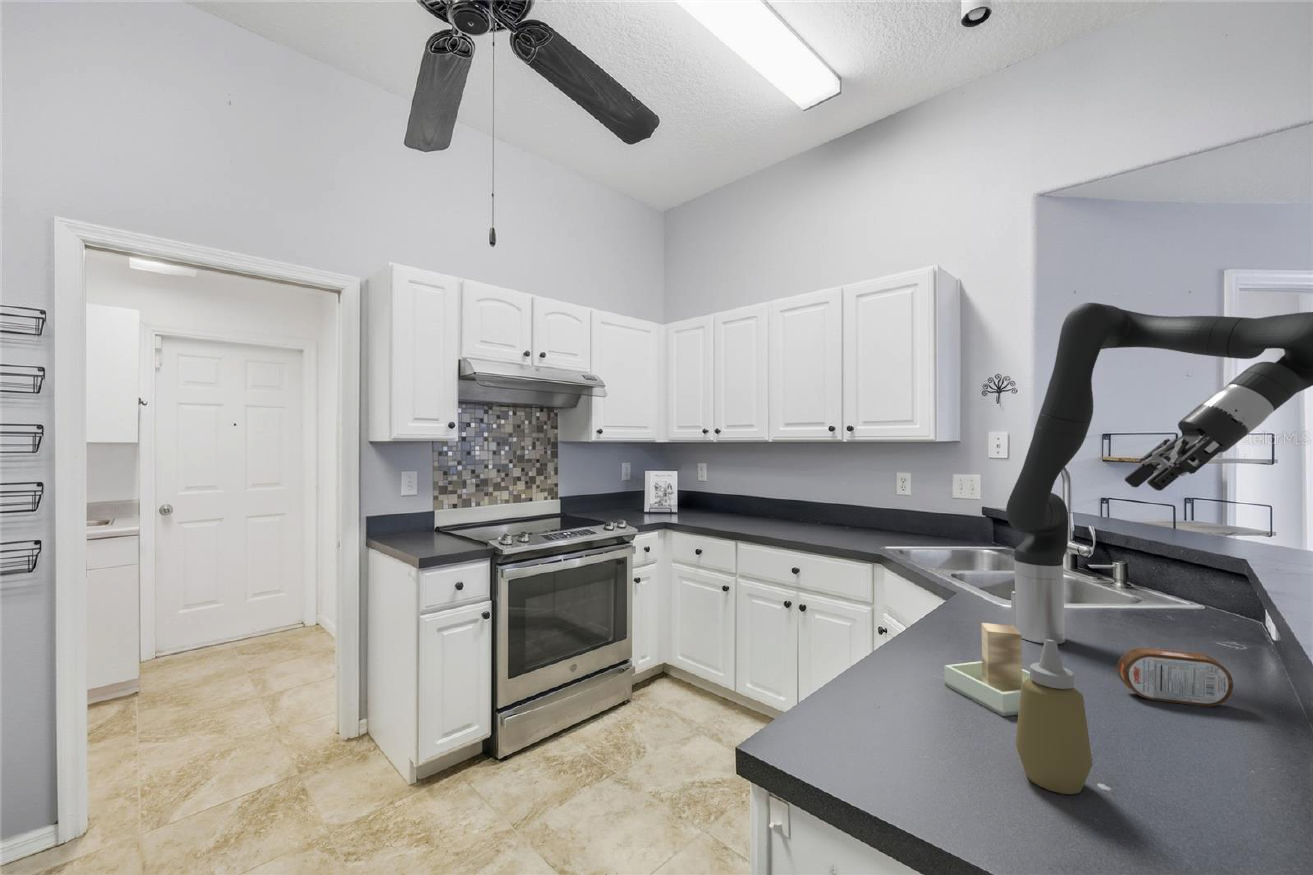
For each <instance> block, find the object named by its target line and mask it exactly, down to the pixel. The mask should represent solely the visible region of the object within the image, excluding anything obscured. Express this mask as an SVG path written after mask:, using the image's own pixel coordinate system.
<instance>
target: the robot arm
mask: <svg viewBox="0 0 1313 875" xmlns="http://www.w3.org/2000/svg"><path fill="white" fill-rule="evenodd" d="M1061 326H1062V327H1061V330H1060V334H1059V338H1058V339H1059V340H1058V345H1057V351H1056V357H1055V362H1054V366H1053V370H1052V374H1051V376H1050V379H1049V381H1048V382H1049V383H1048V386H1047V390H1046V393H1045V396H1044V400H1043V403H1042V405H1041V407H1040V408H1041V409H1040V411H1039V414H1038V417H1037V419H1036V424H1035V428H1034V430H1033V435H1032V437H1031V438H1032V439H1031V442H1030V445H1029V447H1028V450H1027V454H1026V456H1025V459H1024V463H1023V465H1022V469H1021V472H1020V473H1019V475H1018V478H1017V480H1016V483H1015V484H1014V487H1013V489H1012V491H1011V493H1010V496H1009V498H1008V500H1007V503H1006V509H1005V514H1006V520H1007V521H1008V524H1009V525H1010V526H1011V527H1012V528H1013V529H1014V530H1015V531H1017V532H1020V533H1025V537H1024V539H1023V540H1022V542H1021V543H1020V544H1019V545H1017V546H1016V547H1015V548H1014V551H1013V552H1014V554H1013V556H1014V557H1013V558H1014V559H1013V562H1014V563H1013V564H1014V590H1012V591H1011V592H1010V603H1011V610H1010V611H1011V626H1014V627H1015V628H1016V629H1017V630H1018V631H1019V632H1020V634H1021V639H1022V640H1027V641H1029V642H1034V643H1038V644H1044V642H1045V640H1046V639H1050V640H1054V641H1056V643H1057V645H1062V644H1063V643H1065V642H1066V641H1065V638H1066V636H1065V635H1066V634H1065V584H1064V582H1065V581H1064V579H1065V578H1064V557H1065V555H1066V554H1067V550H1068V543H1069V542H1068V541H1069V540H1068V539H1069V512H1068V507H1067V505H1066V503H1065V501H1064V500H1063V498H1061V497H1060V496H1059V495H1058V494H1055V493H1054V492H1052V490H1053V488H1054V485H1055V482H1056V480H1057V478H1058V476H1059V475H1060V473H1061V472H1062V471H1063V470H1064V468H1065V467H1066V466H1067V465H1068V464H1069V463H1070V462H1071V460H1072V459H1073V458H1074V457H1075V455H1076V454H1077V453H1078V452H1079V451H1080V449H1081V447H1082V446H1083V444H1084V442H1085V439H1086V438H1087V434H1088V431H1089V428H1090V425H1091V422H1092V420H1093V419H1092V418H1093V415H1094V395H1093V383H1092V382H1093V380H1092V379H1093V373H1094V368H1095V365H1096V363H1097V360H1098V358H1099V355H1100V352H1101V350H1105V349H1117V348H1119V349H1120V348H1121V349H1122V348H1148V349H1149V348H1152V349H1161V350H1169V351H1175V352H1180V353H1181V352H1182V353H1188V354H1193V355H1200V356H1208V357H1209V356H1210V357H1216V358H1217V357H1218V358H1227V359H1228V358H1229V359H1240V360H1250V359H1255V358H1257V357H1259V356H1261V355H1262V354H1263V353H1264V352H1265V351H1266V350H1267V349H1271V350H1272V349H1278V350H1281V349H1282V350H1283V352H1284V355H1283V356H1281V357H1280V358H1279V359H1278V360H1277V361H1275V362H1274V361H1260V362H1256V363H1254V364H1252V365H1250V366H1249V367H1247V368H1246V369H1245V370H1243V371H1242V372H1241V373H1239V375H1237V376H1236V377H1235V378H1233V379H1232V380H1231V381H1230V382H1229V383H1228V384H1226V385H1225V386H1223V387H1222V388H1220V389H1219V390H1217V391H1215V392H1214V393H1213V394H1211V395H1210V396H1209V397H1208V398H1206V399H1205V400H1204V401H1203V402H1202V403H1201V404H1199V405H1198V406H1196V407H1195V408H1194V409H1193V410H1191V411H1190V412H1189V413H1188V414H1187V415H1185V416H1184V417H1183V418H1182V419H1181V420H1179V422H1178V424H1177V427H1178V429H1179V431H1180V432H1181V436H1179V437H1177V438H1172V439H1170V438H1167V439H1164V440H1163V441H1162V442H1160V443H1159V444H1158V445H1157V446H1155V447H1154V448H1153V449H1152V450H1151V451H1150V452H1148V453H1146V455H1144V456H1143V457H1141V458H1139V460H1138V463H1139V466H1137V468H1136V469H1134V470H1133V471H1131V473H1129V474H1128V475H1127V476H1126V477H1124V481H1125V483H1126V484H1128V485H1130V486H1131V487H1132V488H1139V487H1140V486H1141V485H1143V483H1145V482H1147V485H1149V486H1150V487H1151V488H1153V490H1155V491H1160V492H1161V491H1163V490H1164V489H1165V488H1167V487H1168V486H1169V485H1170V484H1172V483H1173V482H1174V481H1176V480H1177V478H1180V477H1183V476H1186V475H1187V474H1190V475H1192V474H1196V473H1197V471H1199V470H1200V469H1201V468H1202V467H1204V465H1206V464H1207V463H1208V462H1210V461H1211V460H1212V459H1213V458H1214V457H1216V456H1217V455H1218V454H1219V453H1225V452H1228V450H1229V449H1231V448H1232V447H1233V446H1235V445H1236V444H1237V443H1238V442H1240V441H1241V440H1242V439H1243V438H1245V437H1246V436H1247V435H1249V434H1250V433H1251V432H1252V431H1254V430H1255V429H1257V427H1259V426H1260V425H1261V424H1263V422H1264V421H1266V420H1267V418H1268V417H1269V416H1270V415H1271V414H1273V413H1274V412H1275V411H1276V410H1277V409H1279V408H1280V407H1281V406H1282V405H1285V403H1286V402H1287V401H1289V400H1290V399H1291V398H1292V397H1293V396H1295V395H1296V394H1297V393H1300V392H1302V391H1304V390H1306V389H1309V388H1310V387H1312V386H1313V311H1304V312H1294V313H1288V314H1279V315H1270V316H1263V317H1256V318H1255V317H1254V318H1253V317H1243V316H1241V317H1239V316H1238V317H1237V316H1221V315H1189V316H1188V315H1186V316H1182V315H1180V316H1167V315H1153V314H1146V313H1139V312H1136V311H1131V310H1126V309H1122V308H1120V307H1117V306H1114V305H1111V304H1104V303H1098V302H1097V303H1096V302H1086V303H1082V304H1080V305H1077V306H1075V307H1074V308H1073V309H1072V310H1071V311H1070V312H1069V313H1068V314H1067V316H1066V317H1065V318H1064V321H1063V324H1062V325H1061ZM1153 462H1155V463H1153Z"/></svg>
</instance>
